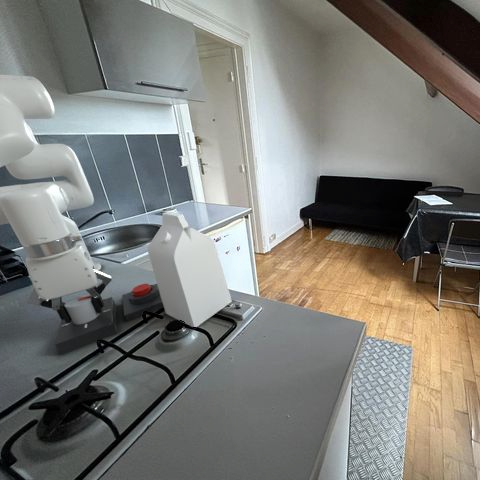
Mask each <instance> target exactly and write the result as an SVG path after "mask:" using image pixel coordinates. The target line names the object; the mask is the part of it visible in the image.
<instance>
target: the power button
mask: <svg viewBox="0 0 480 480" xmlns="http://www.w3.org/2000/svg"><path fill="white" fill-rule="evenodd" d="M150 285H151V284H150V283H142V284H139V285H137V286H134V287H133V288H132V291H133V293H134V296H135V297H139V296H143V295H146V294H148V293H150V292H151V288H150Z"/></svg>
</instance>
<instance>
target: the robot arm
mask: <svg viewBox="0 0 480 480" xmlns="http://www.w3.org/2000/svg"><path fill="white" fill-rule="evenodd" d="M55 113H56V110H55V105H54V102H53V99H52V97H51V95H50V93H49V92H48V90H47V88H46V87H45V86H44V84H43V83H42V82H41V81H40V80H39V79H38V78H36V77H35V76H30V75H18V74H1V73H0V168H2V167H4V166H5V168H6V170H7V171H8V172H9V174H10V175H11V176H12V177H14V178H16V179H18V180H24V181H25V180H38V179H39V180H40V179H47V178H56V177H65V178H67V179H63V180H54V181H53V180H52V181H42V182H40V181H39V182H31V183H25V184H13V185H6V186H0V226H2V225H8V224H9V225H10V226H11V229H12V230H13V232H14V234H15V236H16V238H17V239H18V241H19V243H20V245H21V246H22V249H23V250H24V252H25V254H26V257H25V260H24V261H25V266H26V268H27V272H28V275H29V279H30V282H31V283H32V286H33V290H32V292H31V294H30V295H29V298H27V302H26V303H27V304H29V305H35V306H41V307H42V308H43V307H44V308H47V309H52V310H53V311H56V312H57V315H58V317H59V318H60V321H61V320H65V321H66V323H67V324H68V323H70V322H71V320H72V319H71V318H70V316H69V314H68V312H67V310H66V308H65V306H64V305H65V303H66V302H64V301H63V297H66V296H69V295H73V294H76V293H79V292H83V291H86V292H87V293H88V295H91V296H92V302H93V304H94V306H95V309H96V311H97V313H101V312H102V308H103V307H104V306H105V305H104V302H103V300H104V299H103V297H102V293H103V292H104V290H105V289H106V287H107V286H108V285H109V284H110V283H111V282H112V280H113V277H112V276H111V275H109V274H106V273H105V272H102V271H100V270H101V269H102V265H101V263H98V262H94V261H93V259H92V257H91V254H90V252H89V249H88V248H87V245H86V243H85V240H84V239H83V236H82V234H81V232H80V230H79V227H78V225H77V223H76V222H75V221H74V220H73V219H71V218H70V217H67V216H66V215H64V214H63V213H65V212H69V211H73V210H78V209H84V208H87V207H88V208H89V207H90V206H92V205H94V202H95V198H94V195H93V192H92V189H91V186H90V184H89V182H88V179H87V177H86V175H85V172H84V169H83V167H82V165H81V162H80V160H79V158H78V156H77V154H76V153H75V151H74V150H73V149H72V148H71V146H69V145H67V144H64V143H39V142H38V141H37V139H36V137H35V134H34V133H33V129H32V128H31V127H30V125H29V124H28V123H27V122H26V120H48V119H49V120H50V119H53V118H54V117H55ZM98 280H101V282H100V283H99V282H98ZM98 283H99V284H98ZM97 285H98V286H97Z"/></svg>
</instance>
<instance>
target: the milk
mask: <svg viewBox="0 0 480 480" xmlns="http://www.w3.org/2000/svg"><path fill="white" fill-rule="evenodd" d="M161 215H162V216H161V217H162V225H161V226H160V228H159V229H158V231H156V233H155V235H154V236H153V238H152V240H151V241H150V243H149V245H148V247H147V253H148V257H149V261H150V264H151V268H152V270H153V274H154V278H155V282H156V284H157V285H158V288H159V292H160V295H161V299H162V302H163V305H164V307H163V308H164V313H165V314H166V315H168V316H170V317H172V318H174V319H176V320H178V321H180V320H182V321H184V322H185V323H184V322H183V323H184V324H186V325H187V326H189V327H191V328H193V327H196V328H197V327H199V326H200V325H201V324H203V323H205V322H206V321H207V320H208V319H210V318H211V317H213V316H214V315H215V314H217V313H218V312H220V311H221V310H222V309H224V308H225V307H227V306H228V305H229V304H231V303H233V300H232V296H231V294H230V290H229V286H228V284H227V280H226V277H225V274H224V270H223V267H222V264H221V260H220V257H219V253H218V249H217V247H216V243H215V241H214V240H213V239H212V238H211V237H210V236H208V235H206V234H204V233H203V232H200V231H199V230H196V229H195V228H193V227H190V226H189V223H188V221H187V219H186V217H185V216H184V214H182V213H178V212H177V213H175V212H172V211H166V212H163V213H161ZM182 321H181V322H182Z"/></svg>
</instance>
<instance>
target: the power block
mask: <svg viewBox="0 0 480 480" xmlns="http://www.w3.org/2000/svg"><path fill="white" fill-rule="evenodd" d="M149 285H150V288H151V292H150V293H148V294H146V295H143V296H139V297H135V296H134V293H133V290H131V291H130V292H126V293H123V294H122V297H121V298H122V307H123V316H124V319H125V321H126V322H127V321H130V320H133V319H135V318H138V317H141V316H144V315H143V312H144V311H148V312H149V313H152V312H154V311H157V310H159V309H162V308H164V305H163V302H162V299H161V295H160V292H159V288H158V285H157V283H154V284H149Z"/></svg>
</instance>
